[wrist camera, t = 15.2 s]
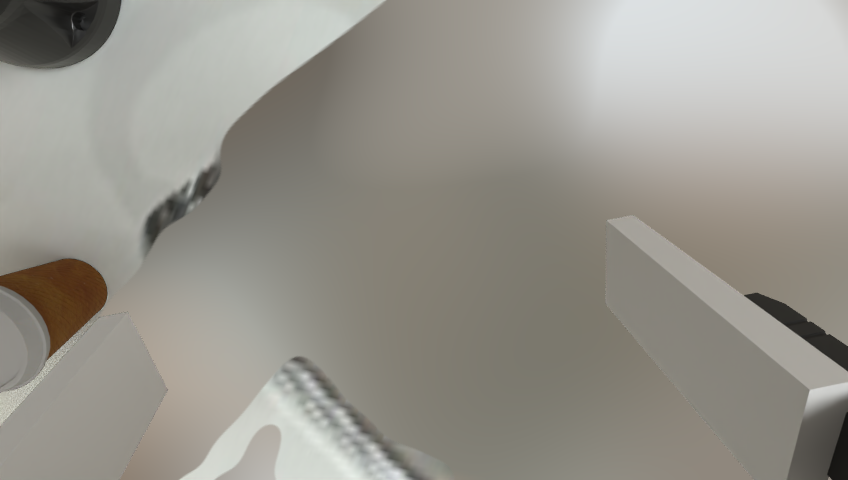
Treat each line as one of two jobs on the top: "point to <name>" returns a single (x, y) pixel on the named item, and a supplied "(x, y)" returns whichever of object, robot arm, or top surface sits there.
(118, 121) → the top surface
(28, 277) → the disposable coffee cup
